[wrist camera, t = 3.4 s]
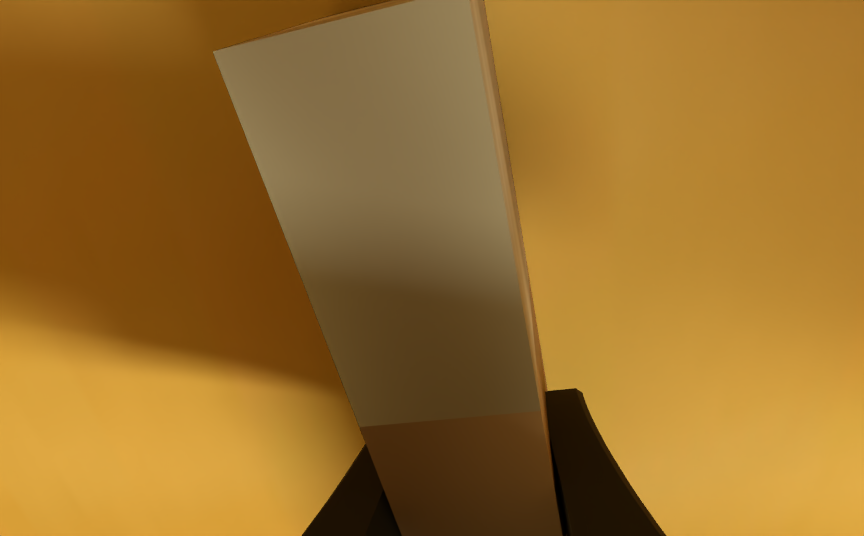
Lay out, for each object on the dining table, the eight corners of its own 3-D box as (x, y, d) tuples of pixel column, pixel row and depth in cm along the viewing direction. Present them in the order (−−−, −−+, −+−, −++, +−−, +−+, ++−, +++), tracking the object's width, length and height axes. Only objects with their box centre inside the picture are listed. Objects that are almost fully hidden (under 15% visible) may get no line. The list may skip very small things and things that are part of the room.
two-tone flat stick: (480, -23, 8) (466, -13, 5) (580, 593, 15) (604, 774, 12) (326, 16, 9) (212, 51, 5) (494, 595, 16) (493, 769, 13)
